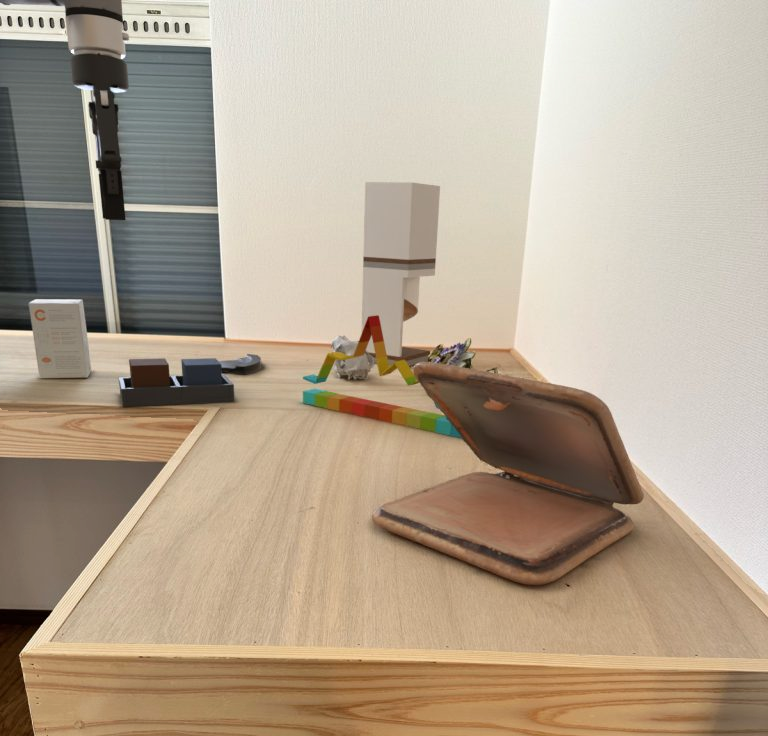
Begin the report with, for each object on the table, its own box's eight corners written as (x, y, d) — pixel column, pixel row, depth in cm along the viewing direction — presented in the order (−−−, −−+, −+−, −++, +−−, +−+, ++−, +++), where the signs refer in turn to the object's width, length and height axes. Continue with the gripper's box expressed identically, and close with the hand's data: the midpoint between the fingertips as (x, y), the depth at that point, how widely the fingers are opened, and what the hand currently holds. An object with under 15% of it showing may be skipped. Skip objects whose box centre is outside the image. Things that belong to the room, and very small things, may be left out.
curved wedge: (277, 363, 149) (276, 355, 149) (245, 375, 137) (245, 366, 137) (240, 360, 152) (240, 352, 151) (206, 371, 140) (206, 362, 139)
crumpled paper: (345, 370, 132) (325, 318, 136) (335, 397, 140) (316, 347, 144) (384, 365, 135) (364, 314, 139) (372, 392, 143) (353, 343, 147)
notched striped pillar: (403, 367, 151) (412, 182, 138) (360, 360, 156) (365, 182, 143) (429, 360, 160) (440, 186, 147) (388, 354, 165) (394, 185, 152)
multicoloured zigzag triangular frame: (476, 434, 105) (485, 328, 99) (465, 438, 102) (474, 330, 97) (315, 399, 121) (316, 306, 115) (302, 403, 118) (302, 308, 113)
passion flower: (433, 425, 129) (411, 364, 131) (487, 410, 132) (465, 351, 134) (453, 402, 119) (429, 336, 120) (511, 387, 122) (487, 322, 123)
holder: (122, 407, 112) (121, 389, 111) (120, 394, 119) (118, 377, 118) (234, 401, 118) (233, 384, 117) (225, 389, 125) (224, 373, 124)
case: (646, 528, 74) (676, 371, 68) (540, 597, 59) (565, 404, 53) (481, 478, 87) (493, 342, 81) (359, 525, 72) (363, 362, 66)
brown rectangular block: (133, 397, 113) (131, 365, 111) (131, 390, 118) (128, 359, 116) (171, 396, 115) (168, 364, 113) (167, 388, 120) (165, 358, 118)
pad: (222, 395, 118) (221, 364, 116) (187, 396, 116) (185, 365, 114) (217, 387, 123) (215, 358, 121) (183, 389, 121) (181, 359, 119)
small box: (92, 371, 135) (83, 298, 130) (87, 378, 130) (79, 302, 125) (44, 371, 133) (34, 298, 129) (38, 379, 128) (27, 302, 123)
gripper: (131, 43, 93) (145, 221, 101) (122, 74, 115) (134, 219, 122) (68, 35, 90) (87, 219, 98) (70, 69, 112) (86, 217, 120)
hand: (113, 219), depth 110 cm, fingers open, 13 cm apart
